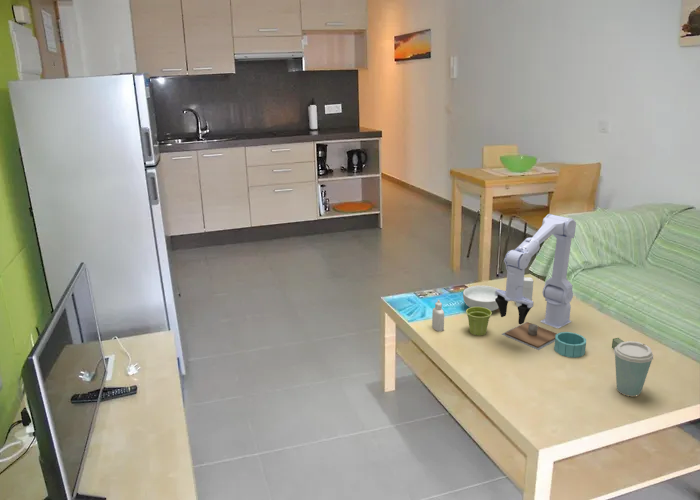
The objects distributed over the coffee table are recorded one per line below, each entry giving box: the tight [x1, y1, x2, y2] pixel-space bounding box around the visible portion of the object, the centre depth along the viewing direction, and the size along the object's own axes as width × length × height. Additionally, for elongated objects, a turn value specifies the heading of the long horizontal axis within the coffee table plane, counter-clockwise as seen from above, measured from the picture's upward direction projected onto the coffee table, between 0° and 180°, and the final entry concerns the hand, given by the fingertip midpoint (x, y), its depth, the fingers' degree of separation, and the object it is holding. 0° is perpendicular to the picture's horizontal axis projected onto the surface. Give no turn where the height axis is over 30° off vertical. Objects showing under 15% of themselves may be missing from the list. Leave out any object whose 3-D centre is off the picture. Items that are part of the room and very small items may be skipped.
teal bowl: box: [553, 331, 587, 359], centre depth 191 cm, size 10×10×5 cm
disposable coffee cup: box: [613, 340, 654, 397], centre depth 166 cm, size 11×11×15 cm
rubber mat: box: [501, 321, 555, 351], centre depth 203 cm, size 16×16×1 cm
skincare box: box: [515, 276, 534, 307], centre depth 228 cm, size 6×4×12 cm
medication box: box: [611, 337, 625, 350], centre depth 188 cm, size 12×3×4 cm, turn 13°
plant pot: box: [465, 307, 493, 336], centre depth 206 cm, size 9×9×9 cm
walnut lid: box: [504, 321, 558, 348], centre depth 203 cm, size 14×14×4 cm
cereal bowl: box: [462, 285, 499, 312], centre depth 227 cm, size 17×17×7 cm
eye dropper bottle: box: [431, 299, 445, 332], centre depth 209 cm, size 4×6×12 cm
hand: (512, 319), depth 194 cm, fingers open, 7 cm apart
